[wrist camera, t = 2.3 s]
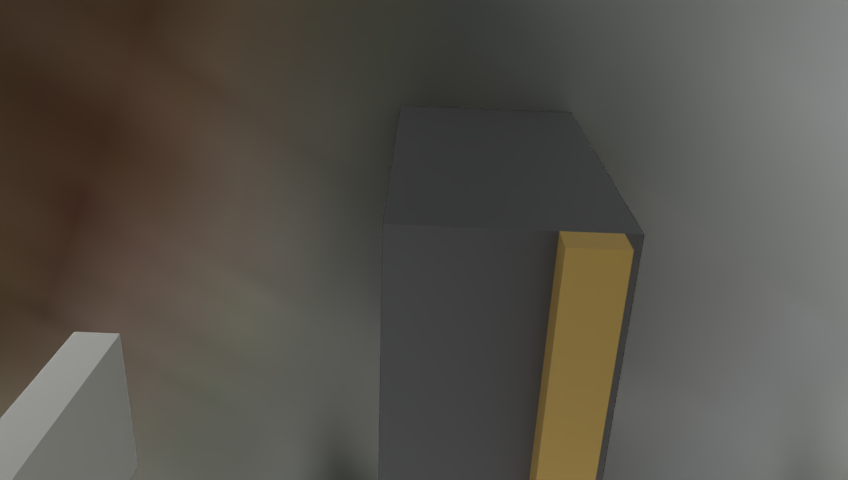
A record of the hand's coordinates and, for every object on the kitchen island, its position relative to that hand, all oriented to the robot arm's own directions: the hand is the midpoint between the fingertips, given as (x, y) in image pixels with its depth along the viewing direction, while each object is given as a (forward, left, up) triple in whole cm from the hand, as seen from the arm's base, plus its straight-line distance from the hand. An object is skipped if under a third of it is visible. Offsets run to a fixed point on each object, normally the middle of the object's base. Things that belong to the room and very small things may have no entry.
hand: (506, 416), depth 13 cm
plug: (0, 0, -7) cm, 7 cm away
